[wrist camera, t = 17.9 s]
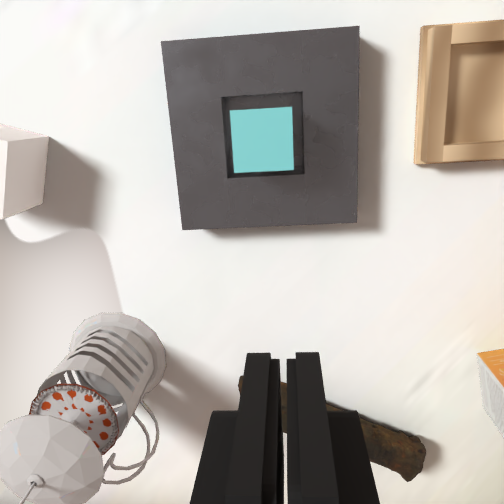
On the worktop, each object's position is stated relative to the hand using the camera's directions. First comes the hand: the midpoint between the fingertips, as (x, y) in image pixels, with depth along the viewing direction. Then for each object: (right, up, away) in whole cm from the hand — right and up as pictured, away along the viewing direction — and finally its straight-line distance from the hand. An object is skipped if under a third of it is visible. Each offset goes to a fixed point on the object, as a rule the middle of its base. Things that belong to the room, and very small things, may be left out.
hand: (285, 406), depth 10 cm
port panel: (0, +13, +25) cm, 29 cm away
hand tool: (+7, -13, +34) cm, 37 cm away
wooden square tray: (+17, +16, +23) cm, 33 cm away
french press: (-13, -7, +33) cm, 37 cm away
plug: (0, +13, +25) cm, 28 cm away
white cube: (-22, +11, +28) cm, 37 cm away
